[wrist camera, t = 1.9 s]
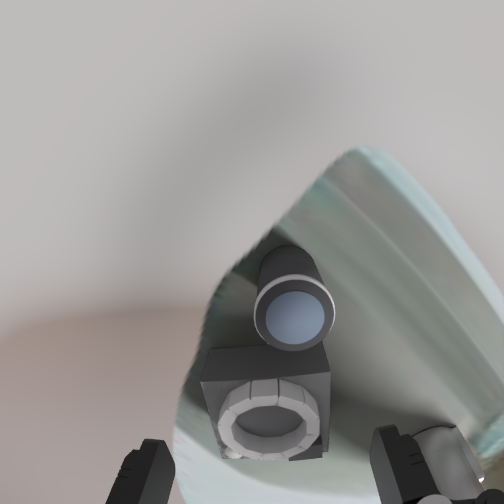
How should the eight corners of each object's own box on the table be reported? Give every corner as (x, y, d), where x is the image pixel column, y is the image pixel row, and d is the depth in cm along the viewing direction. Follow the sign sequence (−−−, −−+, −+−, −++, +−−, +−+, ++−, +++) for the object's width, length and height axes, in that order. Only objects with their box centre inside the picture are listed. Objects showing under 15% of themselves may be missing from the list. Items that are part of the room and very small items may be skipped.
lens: (315, 241, 25) (335, 275, 17) (318, 297, 26) (336, 349, 19) (254, 247, 26) (248, 284, 18) (261, 303, 27) (258, 357, 19)
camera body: (321, 339, 28) (334, 387, 21) (322, 417, 30) (330, 466, 23) (210, 348, 28) (195, 397, 22) (227, 424, 31) (219, 473, 24)
